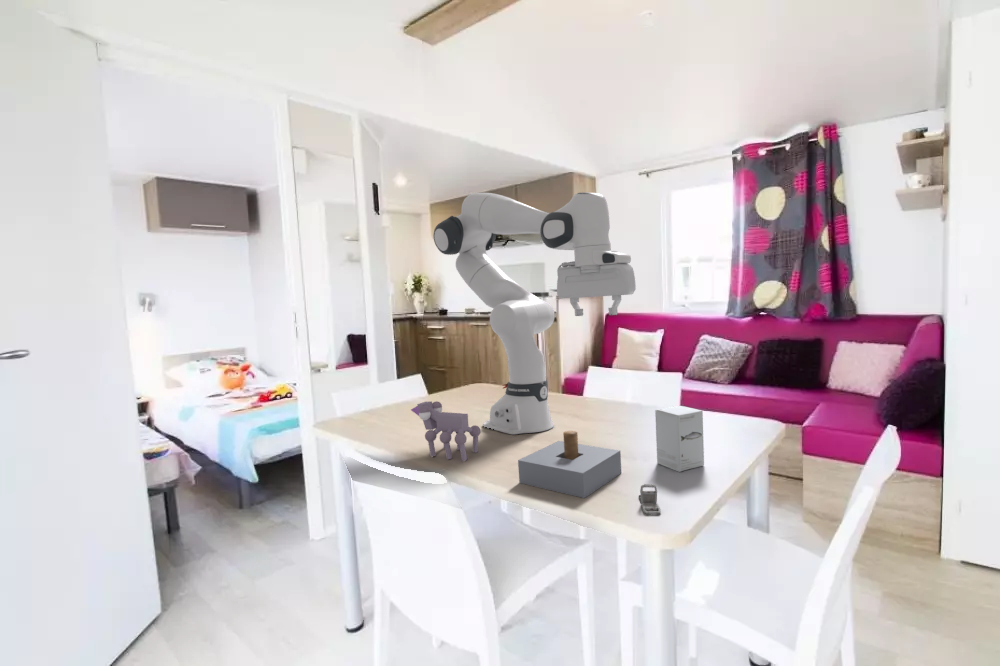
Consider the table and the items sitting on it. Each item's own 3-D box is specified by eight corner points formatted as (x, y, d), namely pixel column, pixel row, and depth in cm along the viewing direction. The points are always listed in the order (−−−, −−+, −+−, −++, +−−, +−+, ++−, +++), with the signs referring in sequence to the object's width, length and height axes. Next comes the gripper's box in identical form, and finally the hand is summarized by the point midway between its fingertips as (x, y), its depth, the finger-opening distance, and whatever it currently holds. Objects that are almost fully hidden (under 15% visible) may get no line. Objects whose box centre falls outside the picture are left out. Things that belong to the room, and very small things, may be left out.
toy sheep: (400, 455, 133) (397, 404, 133) (425, 445, 143) (423, 398, 142) (462, 463, 123) (460, 408, 123) (485, 452, 133) (483, 401, 132)
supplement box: (679, 473, 108) (677, 415, 107) (656, 463, 115) (653, 409, 114) (705, 466, 111) (703, 410, 110) (681, 457, 118) (679, 404, 117)
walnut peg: (563, 478, 109) (560, 433, 108) (570, 474, 111) (568, 430, 111) (575, 481, 107) (572, 435, 106) (582, 476, 109) (579, 431, 109)
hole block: (519, 482, 108) (517, 460, 108) (559, 461, 120) (558, 440, 120) (584, 498, 98) (582, 473, 98) (621, 472, 110) (620, 450, 110)
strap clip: (661, 517, 89) (661, 493, 88) (644, 517, 89) (643, 493, 89) (653, 497, 97) (653, 476, 97) (637, 497, 97) (637, 476, 97)
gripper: (550, 263, 127) (553, 317, 128) (625, 254, 114) (628, 315, 115) (563, 263, 132) (566, 315, 133) (637, 255, 119) (639, 313, 120)
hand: (595, 315), depth 124 cm, fingers open, 8 cm apart
